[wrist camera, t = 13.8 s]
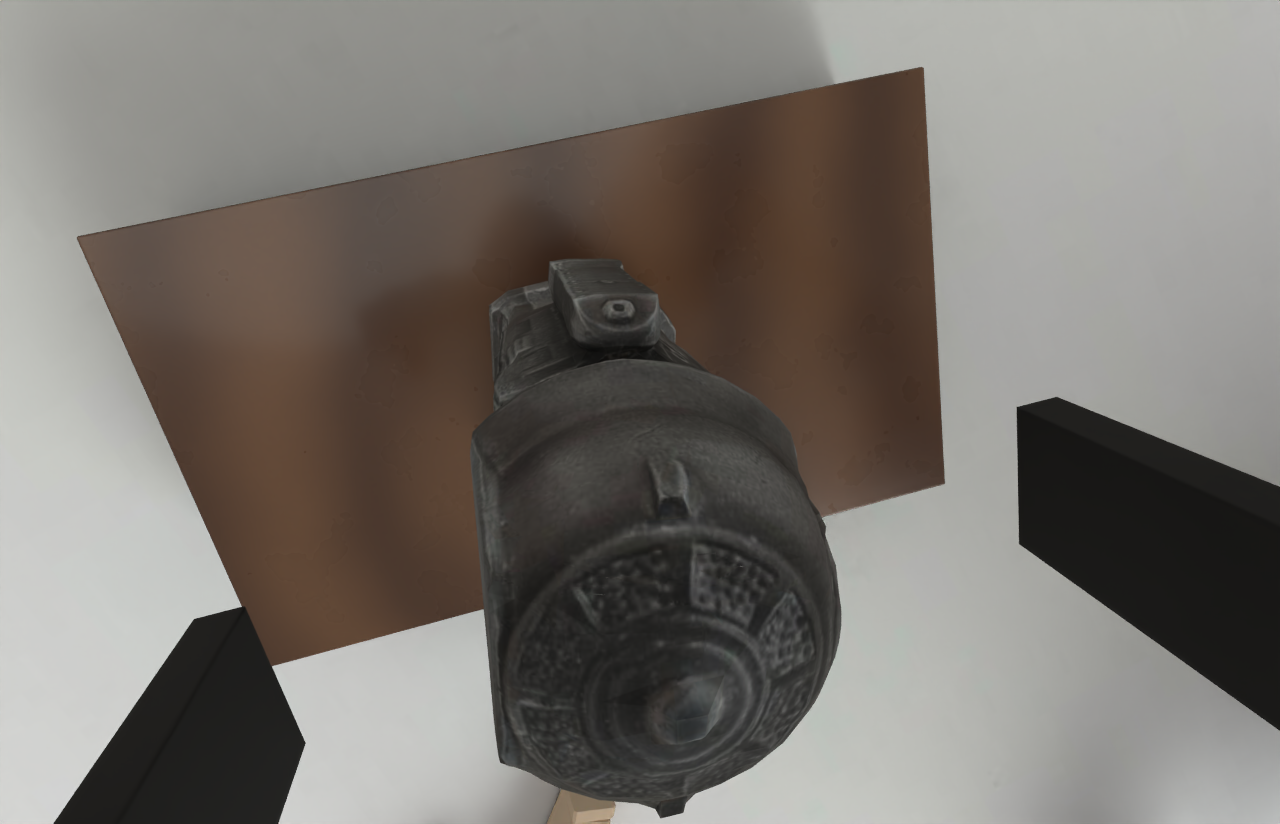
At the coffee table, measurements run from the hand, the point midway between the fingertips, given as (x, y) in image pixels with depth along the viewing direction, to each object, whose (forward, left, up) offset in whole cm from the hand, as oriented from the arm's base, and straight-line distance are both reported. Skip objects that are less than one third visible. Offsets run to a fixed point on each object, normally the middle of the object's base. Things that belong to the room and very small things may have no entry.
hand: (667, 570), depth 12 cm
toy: (0, 0, -12) cm, 12 cm away
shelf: (0, 0, -17) cm, 17 cm away
